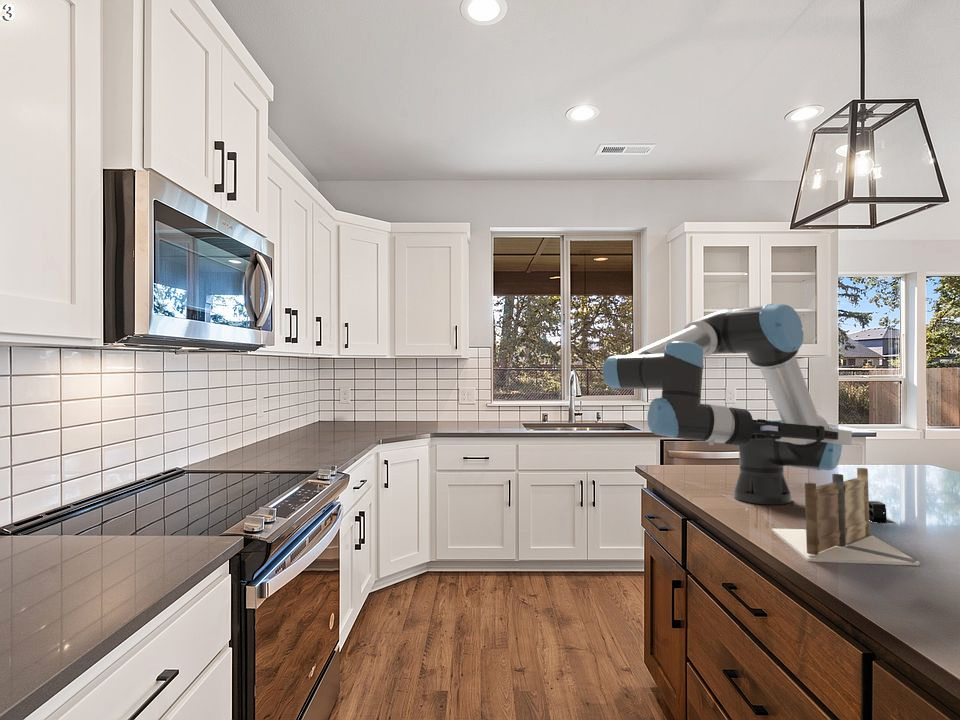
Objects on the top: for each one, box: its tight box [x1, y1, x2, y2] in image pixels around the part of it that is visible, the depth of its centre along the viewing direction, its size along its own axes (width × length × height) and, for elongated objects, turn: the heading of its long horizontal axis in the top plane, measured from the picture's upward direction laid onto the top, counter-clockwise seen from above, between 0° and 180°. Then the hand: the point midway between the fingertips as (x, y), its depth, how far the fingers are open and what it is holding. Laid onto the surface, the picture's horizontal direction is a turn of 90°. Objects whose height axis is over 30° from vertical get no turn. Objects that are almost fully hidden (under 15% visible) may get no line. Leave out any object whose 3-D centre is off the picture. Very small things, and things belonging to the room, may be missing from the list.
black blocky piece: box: [869, 500, 895, 524], centre depth 145 cm, size 12×7×5 cm, turn 167°
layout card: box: [771, 528, 921, 566], centre depth 122 cm, size 22×20×1 cm
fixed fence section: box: [831, 467, 871, 547], centre depth 125 cm, size 14×2×15 cm, turn 125°
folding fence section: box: [804, 482, 840, 555], centre depth 118 cm, size 11×2×14 cm, turn 125°
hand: (826, 438), depth 116 cm, fingers open, 13 cm apart
